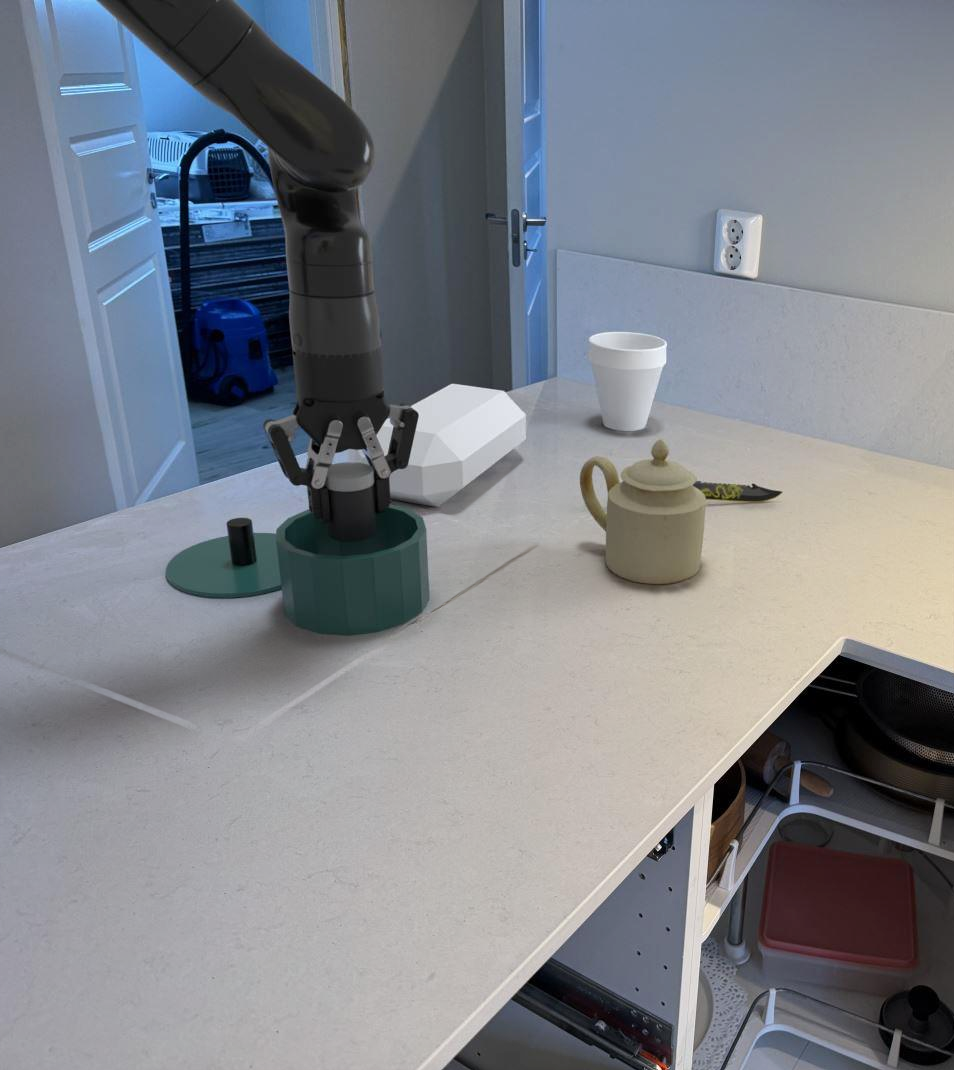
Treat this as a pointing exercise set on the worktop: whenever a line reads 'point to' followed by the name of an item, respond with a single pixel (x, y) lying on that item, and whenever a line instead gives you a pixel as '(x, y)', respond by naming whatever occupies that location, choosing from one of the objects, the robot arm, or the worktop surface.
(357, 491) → the black jar
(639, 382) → the cup
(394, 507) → the pot
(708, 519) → the worktop surface
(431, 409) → the crystal
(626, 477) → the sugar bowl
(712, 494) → the knife
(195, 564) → the lid
